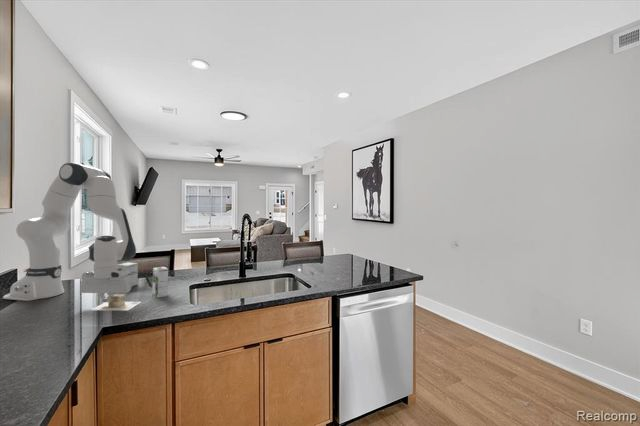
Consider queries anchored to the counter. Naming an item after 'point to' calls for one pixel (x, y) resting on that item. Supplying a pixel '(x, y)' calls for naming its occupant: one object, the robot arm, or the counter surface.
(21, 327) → the counter surface
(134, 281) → the supplement box
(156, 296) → the syrup box
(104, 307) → the envelope
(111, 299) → the beech block
